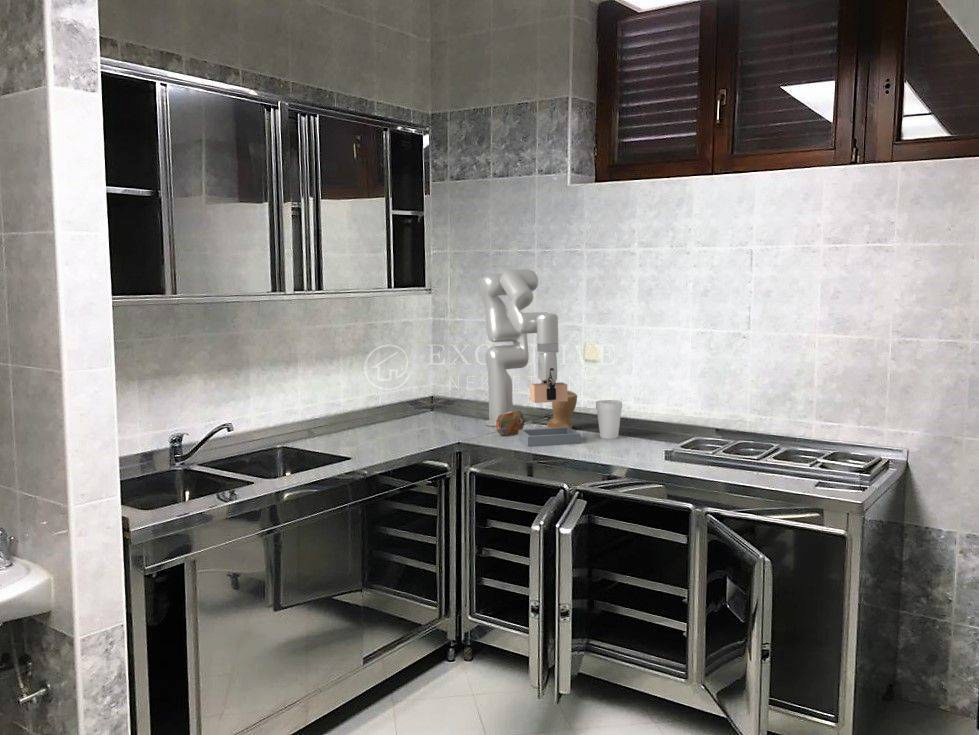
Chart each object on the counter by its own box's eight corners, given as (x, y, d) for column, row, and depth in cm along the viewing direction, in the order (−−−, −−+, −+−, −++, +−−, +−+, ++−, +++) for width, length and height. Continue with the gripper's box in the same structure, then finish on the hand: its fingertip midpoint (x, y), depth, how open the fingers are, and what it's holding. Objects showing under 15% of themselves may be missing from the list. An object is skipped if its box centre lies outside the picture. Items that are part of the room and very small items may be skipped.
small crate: (530, 400, 311) (529, 383, 310) (562, 398, 313) (562, 382, 313) (534, 403, 305) (534, 386, 304) (567, 401, 307) (567, 384, 306)
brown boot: (575, 432, 327) (575, 393, 325) (544, 431, 329) (543, 392, 328) (580, 425, 341) (579, 387, 340) (550, 425, 344) (549, 387, 342)
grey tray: (518, 439, 316) (518, 429, 315) (569, 436, 319) (569, 426, 319) (527, 446, 302) (527, 436, 301) (580, 443, 305) (580, 433, 305)
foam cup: (592, 438, 314) (592, 403, 313) (601, 434, 322) (601, 399, 321) (617, 440, 310) (617, 404, 308) (625, 435, 318) (625, 400, 316)
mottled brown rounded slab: (501, 437, 320) (501, 415, 319) (495, 436, 322) (494, 414, 321) (525, 431, 332) (524, 409, 331) (518, 430, 334) (518, 408, 333)
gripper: (531, 347, 315) (532, 395, 316) (543, 350, 298) (544, 402, 300) (551, 346, 316) (552, 394, 318) (564, 349, 299) (565, 401, 301)
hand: (548, 397), depth 309 cm, fingers closed on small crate, 6 cm apart
